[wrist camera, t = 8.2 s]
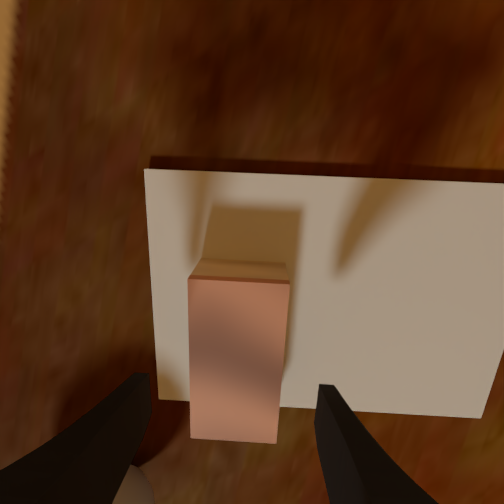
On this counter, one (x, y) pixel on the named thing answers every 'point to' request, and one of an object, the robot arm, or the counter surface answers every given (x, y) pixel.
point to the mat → (345, 281)
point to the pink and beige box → (236, 348)
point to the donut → (134, 488)
